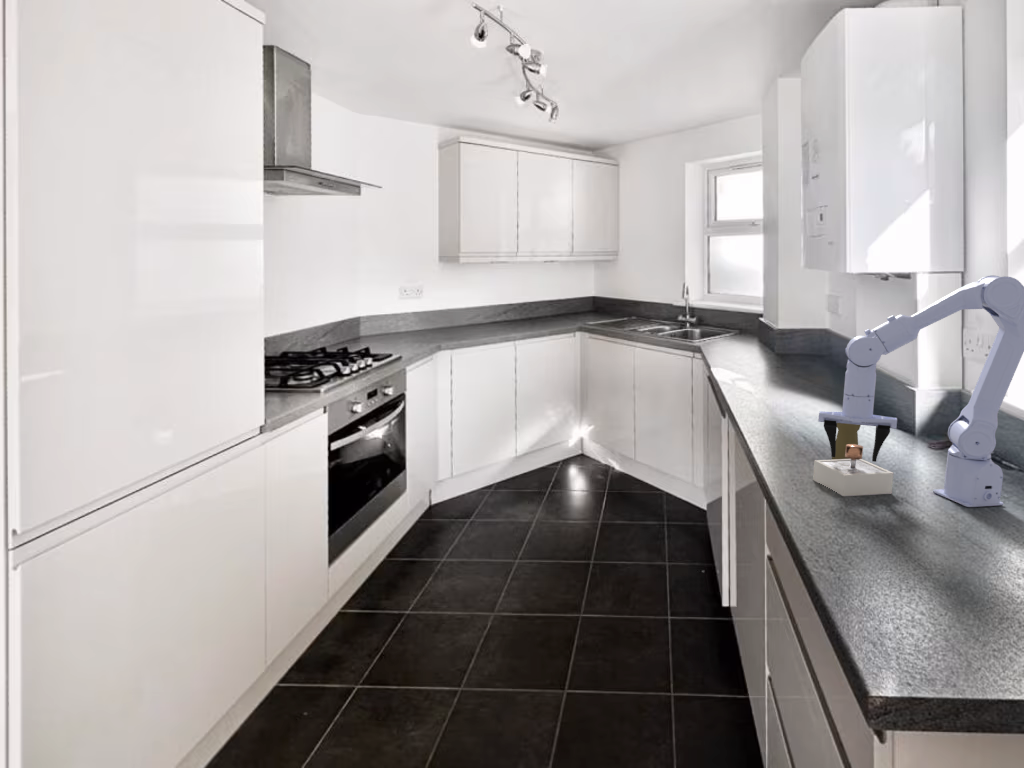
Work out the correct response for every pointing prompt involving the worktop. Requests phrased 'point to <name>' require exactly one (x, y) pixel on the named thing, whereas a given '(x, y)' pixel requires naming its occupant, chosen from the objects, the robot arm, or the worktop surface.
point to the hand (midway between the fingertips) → (853, 458)
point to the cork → (845, 438)
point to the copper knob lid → (853, 462)
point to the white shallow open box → (853, 479)
